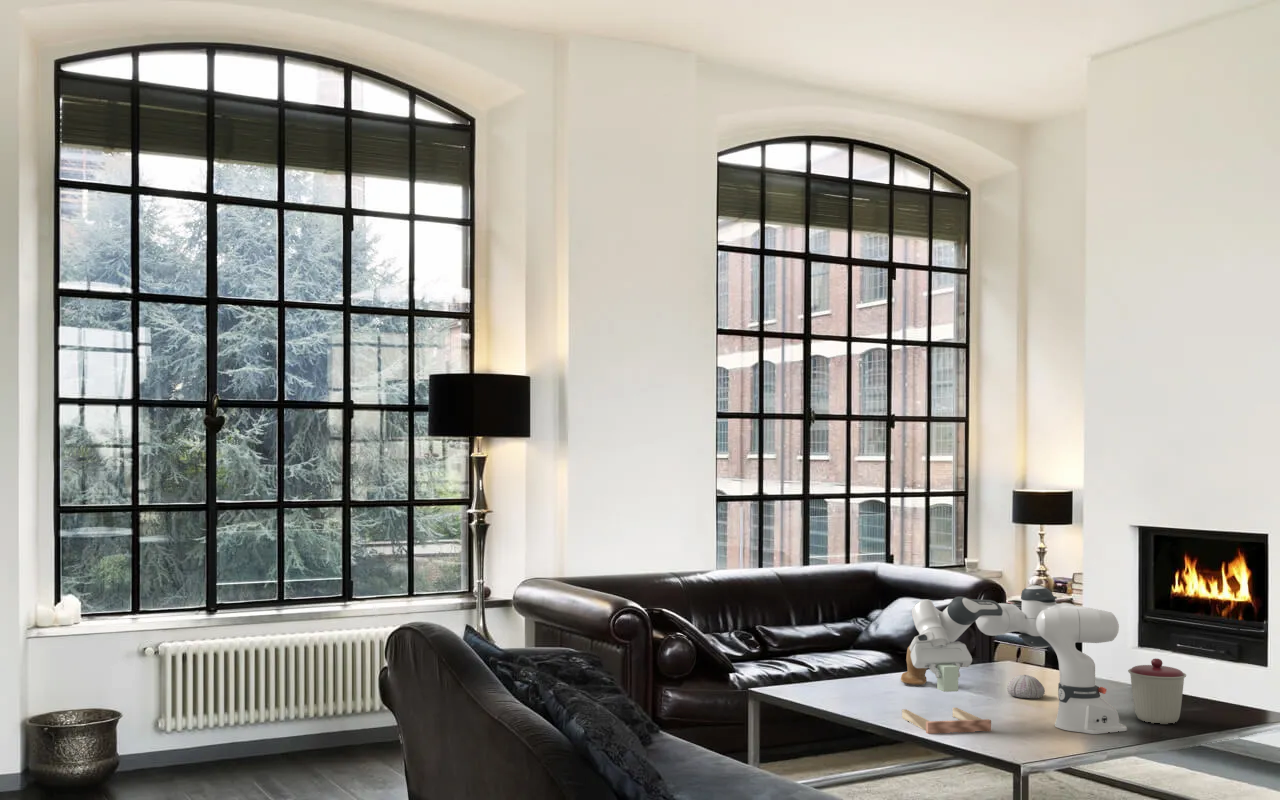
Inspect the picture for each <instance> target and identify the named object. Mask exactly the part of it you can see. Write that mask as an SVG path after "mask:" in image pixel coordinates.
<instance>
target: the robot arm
mask: <svg viewBox="0 0 1280 800" xmlns="http://www.w3.org/2000/svg"><path fill="white" fill-rule="evenodd" d="M1057 599H1058V596H1055V595H1054V594H1053V593H1052V591H1051V590H1050V589H1049V588H1048V587H1044V586H1042V585H1037V584H1035V585H1030V586H1028V587H1025V588H1024V589H1023V590H1022V591H1021V595H1020V600H1021V609H1020V608H1019V607H1018V606H1017V605H1015V604H1011V603H1007V602H1006V603H1004V602H1001V603H1000V602H999V603H998V602H996V601H995V600H992V599H975V598H974V599H973V598H969V597H967V596H955V597H954V598H953V599H952V600H951V601H950V602H949V604H948V605H947V606H946V608H944V609H943V610H942V611H941V610H939V609H938V608H937V607H936V606H935V604H934V603H933V602H932V601H931V600H930V599H922V600H920V601H918V602H917V603H916V604H915V605H914V606H913V607H912V609H911V615H912V620H913V624H914V626H915V629H916V630H917V632H918V635H916V636H914V637H913V639H912V641H911V643H910V644H909V646H910V648H909V649H910V651H911V660H912V663H913V666H914V667H916V668H927V669H929V670H930V672H932V673H933V674H934V675H935V678H936V679H937V678H941V677H942V674H941V671H938V670H937V664H952V665H955V666H958V679H959V678H960V677H961V672H960V668H968V667H970V666H971V664H972V663H973V658H972V657H973V656H972V655H971V653H970V651H969V649H968V648H967V645H966V644H965V643H963V642H961V641H958V639H959V637H961V636H962V635H963V633H965V631H967V629H968V628H969V627H970V626H972V624H973V623H975V624H976V626H977V629H978V630H979V632H981V633H983V634H984V635H986V636H993V637H995V636H1000V635H1005V634H1010V633H1012V632H1013V633H1014V632H1019V633H1020V634H1018V635H1017V636H1018V638H1019V639H1022V641H1023V642H1024V643H1025V644H1026V645H1027V646H1029V647H1032V648H1035V649H1046V648H1049V647H1052V649H1053V651H1054V652H1055V654H1056V656H1057V661H1058V669H1059V683H1057V684H1058V688H1057V689H1058V690H1057V695H1058V709H1057V714H1056V718H1055V719H1056V720H1055V723H1054V726H1055V727H1056V728H1057V729H1061V730H1065V731H1069V732H1076V733H1077V732H1078V733H1084V734H1088V735H1089V734H1090V735H1098V734H1107V733H1108V732H1110V733H1116V732H1117V733H1118V731H1119V732H1125V731H1126V732H1127V731H1128V728H1127V727H1128V726H1126V725H1124V724H1122V723H1120V718H1119V717H1120V716H1119V713H1118V711H1117V709H1116V708H1115V707H1113V706H1112V705H1111V704H1110V703H1109V702H1107V701H1106V700H1105V699H1104V698H1102V697H1101V694H1103V695H1105V694H1106V693H1107V692H1108V690H1107V688H1106V687H1104V686H1100V687H1099V686H1098V685H1096V663H1095V661H1094V659H1093V658H1092V657H1090V656H1089V655H1087V654H1085V652H1082V651H1080V650H1078V649H1077V647H1076V643H1081V644H1082V643H1086V644H1087V643H1088V644H1101V643H1109V642H1112V641H1114V640H1115V639H1116V638H1117V636H1118V634H1119V630H1120V629H1119V628H1120V625H1119V621H1118V618H1117V617H1116V615H1115V614H1114V613H1112V612H1111V611H1107V610H1102V609H1098V608H1093V607H1087V606H1080V605H1075V604H1073V603H1070V602H1069V603H1067V602H1062V603H1058V602H1057V601H1056V600H1057ZM956 640H957V641H956Z"/></svg>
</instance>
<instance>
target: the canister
mask: <svg viewBox="0 0 1280 800" xmlns="http://www.w3.org/2000/svg"><path fill="white" fill-rule="evenodd" d="M1150 663H1151V664H1141V665H1135V666H1133V667H1132V668H1129V669H1128V670H1127V672H1128V673H1129V674H1130V684H1131V691H1132V692H1131V693H1132V699H1133V706H1134V712H1135V715H1136V717H1137V719H1139V720H1140V721H1143V722H1144V721H1145V722H1146V723H1148V722H1151V723H1150V724H1154V723H1160V724H1159V725H1169V724H1168V723H1173V724H1176V723H1177V722H1178V721H1179V719H1180V717H1181V708H1182V703H1183V702H1182V700H1183V691H1184V684H1185V678H1186V677H1187V674H1186V673H1185V672H1183V671H1182V670H1181V669H1179V668H1175V667H1173V666H1172V667H1171V666H1166V665H1163V664H1164V663H1163V660H1162V659H1160V658H1157V657H1156V658H1153V659H1151V661H1150ZM1145 722H1144V723H1145ZM1175 722H1176V723H1175Z"/></svg>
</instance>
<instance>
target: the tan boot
mask: <svg viewBox="0 0 1280 800" xmlns="http://www.w3.org/2000/svg"><path fill="white" fill-rule="evenodd" d="M909 648H910V645H909V646H908V647H907V650H906V659H905V661H906V667H907V671H904V672H903V673H902V674H901V676H900V681H901V683H903V684H907V685H911V686H912V685H913V686H921V685H922V686H923V685H925V684H926V683H927V677H926V674H927V670H928V668H916V667H914V666H913V663H912V660H911V651H910V649H909Z"/></svg>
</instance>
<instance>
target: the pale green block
mask: <svg viewBox="0 0 1280 800" xmlns="http://www.w3.org/2000/svg"><path fill="white" fill-rule="evenodd" d="M936 669H937V670H938V671H941V674H942V677H941V678H936V679H937V680H936V685H937V687H936V689H937V690H939V691H941V692H944V693H945V692H946V693H949V692H950V693H951V692H959V678H958V666H955V665H952V664H937V668H936Z"/></svg>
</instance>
